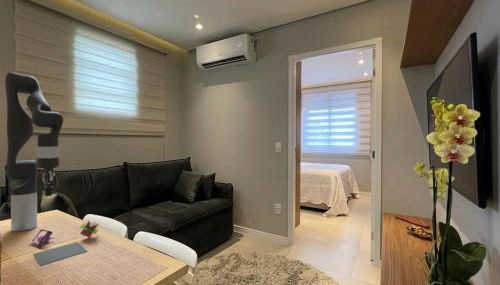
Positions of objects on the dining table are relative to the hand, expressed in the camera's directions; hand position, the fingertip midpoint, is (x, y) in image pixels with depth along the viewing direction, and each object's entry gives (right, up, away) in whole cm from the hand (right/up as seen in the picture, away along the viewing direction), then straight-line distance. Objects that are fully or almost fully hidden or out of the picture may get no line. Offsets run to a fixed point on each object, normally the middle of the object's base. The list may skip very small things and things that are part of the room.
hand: (48, 195), depth 105 cm
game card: (+7, -17, -6) cm, 20 cm away
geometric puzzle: (+17, -19, +1) cm, 26 cm away
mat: (+16, -19, -13) cm, 28 cm away
